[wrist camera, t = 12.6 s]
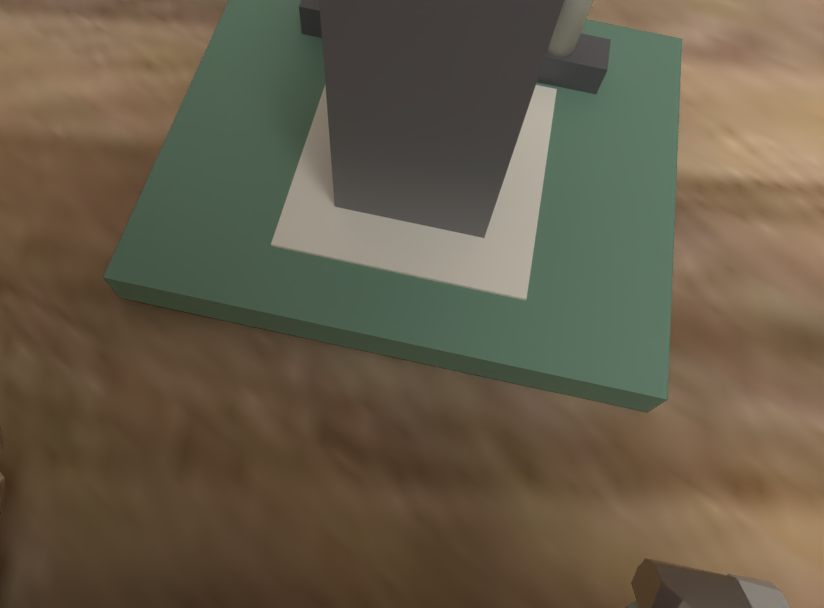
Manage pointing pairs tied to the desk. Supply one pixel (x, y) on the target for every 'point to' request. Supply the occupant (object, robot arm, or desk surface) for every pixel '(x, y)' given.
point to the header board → (417, 244)
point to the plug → (429, 102)
